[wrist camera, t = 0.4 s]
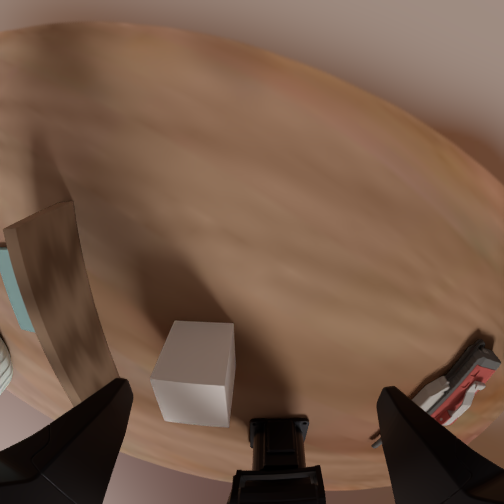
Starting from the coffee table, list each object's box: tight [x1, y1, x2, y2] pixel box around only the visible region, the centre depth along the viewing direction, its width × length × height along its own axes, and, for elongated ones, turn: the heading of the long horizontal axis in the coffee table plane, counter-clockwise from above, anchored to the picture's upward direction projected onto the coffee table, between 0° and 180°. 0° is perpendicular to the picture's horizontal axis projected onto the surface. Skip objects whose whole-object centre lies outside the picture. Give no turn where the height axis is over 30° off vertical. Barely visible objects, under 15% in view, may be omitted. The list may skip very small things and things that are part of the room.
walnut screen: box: [3, 201, 120, 407], centre depth 21 cm, size 22×2×7 cm, turn 0°
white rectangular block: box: [150, 320, 236, 427], centre depth 21 cm, size 5×5×7 cm
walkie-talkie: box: [371, 339, 501, 448], centre depth 26 cm, size 9×4×20 cm
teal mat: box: [0, 247, 35, 333], centre depth 23 cm, size 10×10×1 cm
